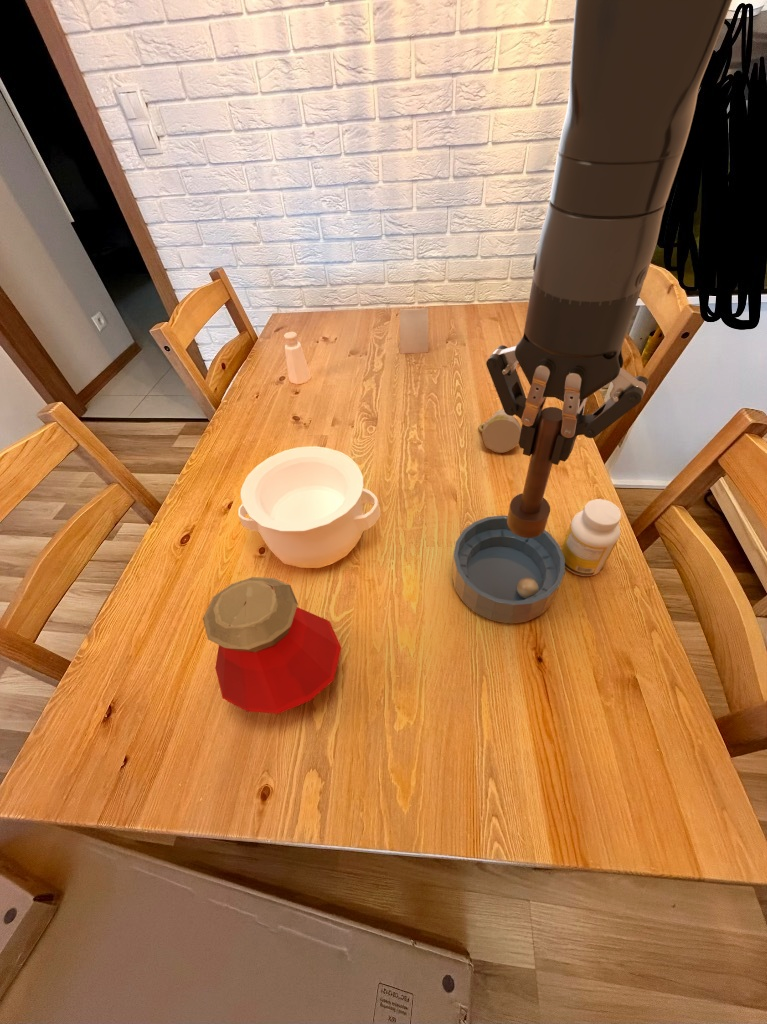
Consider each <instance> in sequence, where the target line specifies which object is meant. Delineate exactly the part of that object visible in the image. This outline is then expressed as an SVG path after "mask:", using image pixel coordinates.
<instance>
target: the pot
mask: <svg viewBox="0 0 767 1024" xmlns="http://www.w3.org/2000/svg"><path fill="white" fill-rule="evenodd" d="M364 485H365V484H364V476H363V473H362V471H361V469H360V468H359V465H358V464H357V462H355V461H354V460H353V459H352V458H351V457H350V456H349V455H347V454H346V453H344V452H342V451H339V450H335V449H334V448H333V449H332V448H329V447H325V446H324V447H323V446H318V445H317V446H315V445H312V446H311V445H310V446H298V447H297V446H296V447H293V448H289V449H286V450H282V451H280V452H278V453H275V454H273V455H271V456H268V457H267V458H266V459H264V460H263V461H262V462H260V463H259V464H258V465H256V466H255V467H254V468H253V469H252V470H251V471H250V472H249V473H248V474H247V475H246V478H245V480H244V482H243V483H242V486H241V488H240V500H241V505H240V506H239V507H238V509H237V512H238V513H237V515H238V518H239V521H240V524H241V526H242V527H244V528H245V529H246V530H249V531H252V532H258V533H259V535H260V536H261V538H262V540H263V542H264V543H265V545H266V547H267V548H268V549H269V550H270V551H271V553H272V554H273V555H274V556H275V557H276V558H277V559H278V560H279V561H280V562H281V563H282V564H284V565H289V566H292V567H297V568H299V569H301V568H302V569H320V568H323V567H327V566H330V565H333V564H334V563H337V562H338V561H340V560H342V559H343V558H345V557H347V556H348V555H349V553H351V551H352V550H353V549H354V548H355V547H356V546H357V544H358V542H359V541H360V539H361V538H362V536H363V533H364V531H367V530H370V529H371V528H372V527H373V526H374V525H375V524H376V523H377V522H378V521H379V519H380V517H381V508H380V503H379V500H378V497H377V495H375V493H374V492H373V491H371V490H369V489H367V488H365V486H364ZM365 504H369V505H371V506H372V507H371V509H370V510H369V511H368V512H366V513H365V510H364V505H365ZM247 515H248V516H249V518H248V517H246V516H247Z"/></svg>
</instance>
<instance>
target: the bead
mask: <svg viewBox="0 0 767 1024" xmlns="http://www.w3.org/2000/svg"><path fill="white" fill-rule="evenodd" d="M517 591H518V593H519V595H520V596H521V597H523V598H525V599H527V598H529V597H532V596H534V595H535V594H536V593H537V592H538V591H539V586H538V584H537V582H536V581H535V580H534V579H532V578H523V579H521V580H520V581H519V582H518V584H517Z"/></svg>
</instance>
